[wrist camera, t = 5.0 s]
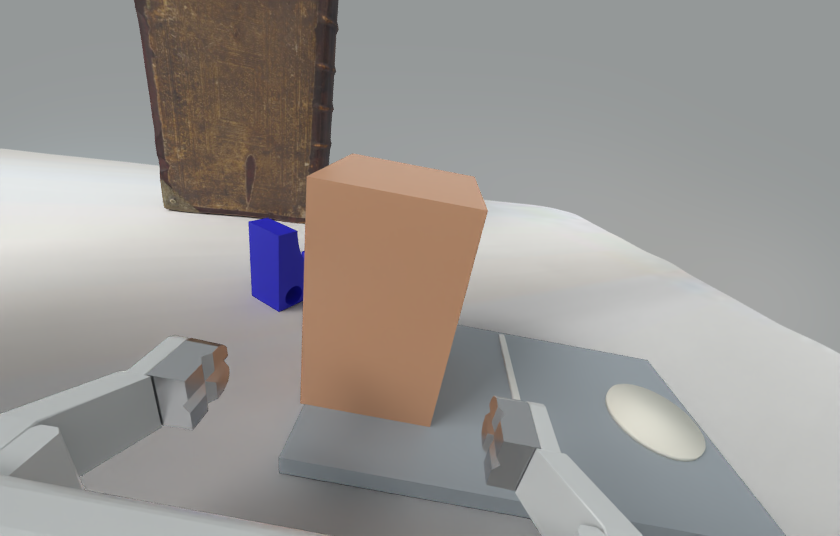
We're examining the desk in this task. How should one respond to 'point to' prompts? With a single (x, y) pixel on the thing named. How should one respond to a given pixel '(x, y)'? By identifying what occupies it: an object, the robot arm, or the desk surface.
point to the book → (240, 101)
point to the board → (574, 429)
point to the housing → (384, 284)
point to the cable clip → (275, 264)
